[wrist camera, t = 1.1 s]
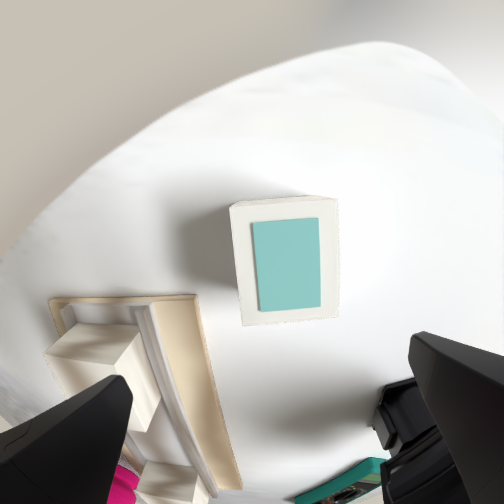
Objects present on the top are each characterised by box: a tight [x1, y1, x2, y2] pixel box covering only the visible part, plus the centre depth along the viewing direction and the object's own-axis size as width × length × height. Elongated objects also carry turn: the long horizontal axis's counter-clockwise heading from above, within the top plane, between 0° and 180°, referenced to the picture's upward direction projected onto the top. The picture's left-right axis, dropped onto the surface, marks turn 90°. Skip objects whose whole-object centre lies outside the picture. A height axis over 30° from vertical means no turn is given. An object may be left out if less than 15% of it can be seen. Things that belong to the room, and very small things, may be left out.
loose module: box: [229, 196, 340, 326], centre depth 15 cm, size 5×6×5 cm
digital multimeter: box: [295, 458, 387, 504], centre depth 24 cm, size 7×15×3 cm, turn 143°
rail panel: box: [43, 294, 243, 504], centre depth 19 cm, size 14×28×7 cm, turn 5°
